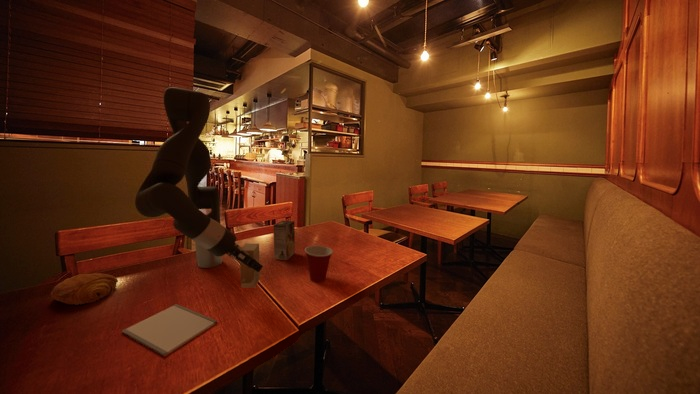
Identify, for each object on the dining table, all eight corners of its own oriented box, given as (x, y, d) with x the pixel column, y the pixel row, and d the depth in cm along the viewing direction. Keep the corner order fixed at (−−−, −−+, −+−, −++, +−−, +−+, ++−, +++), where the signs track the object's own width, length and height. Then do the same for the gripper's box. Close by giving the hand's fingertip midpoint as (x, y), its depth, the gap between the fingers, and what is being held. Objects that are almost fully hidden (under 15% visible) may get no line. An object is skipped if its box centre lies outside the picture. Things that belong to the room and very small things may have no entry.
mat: (121, 333, 68) (121, 330, 68) (176, 306, 81) (176, 303, 81) (163, 356, 61) (163, 354, 60) (216, 322, 73) (216, 320, 73)
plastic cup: (335, 284, 97) (336, 253, 95) (306, 287, 94) (306, 255, 92) (329, 271, 108) (329, 243, 106) (302, 274, 105) (302, 245, 103)
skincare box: (246, 278, 86) (245, 242, 84) (260, 278, 86) (259, 242, 84) (240, 288, 79) (238, 250, 77) (254, 288, 80) (253, 250, 78)
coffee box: (282, 252, 127) (282, 220, 125) (295, 253, 126) (295, 221, 124) (273, 259, 119) (273, 224, 116) (286, 260, 117) (286, 226, 115)
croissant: (71, 318, 77) (69, 295, 75) (43, 300, 82) (40, 277, 80) (128, 294, 90) (127, 273, 88) (100, 279, 95) (99, 259, 93)
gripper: (233, 232, 69) (273, 261, 79) (214, 220, 79) (252, 248, 89) (212, 256, 66) (257, 283, 76) (196, 241, 76) (237, 267, 86)
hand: (254, 264), depth 83 cm, fingers closed on skincare box, 7 cm apart
